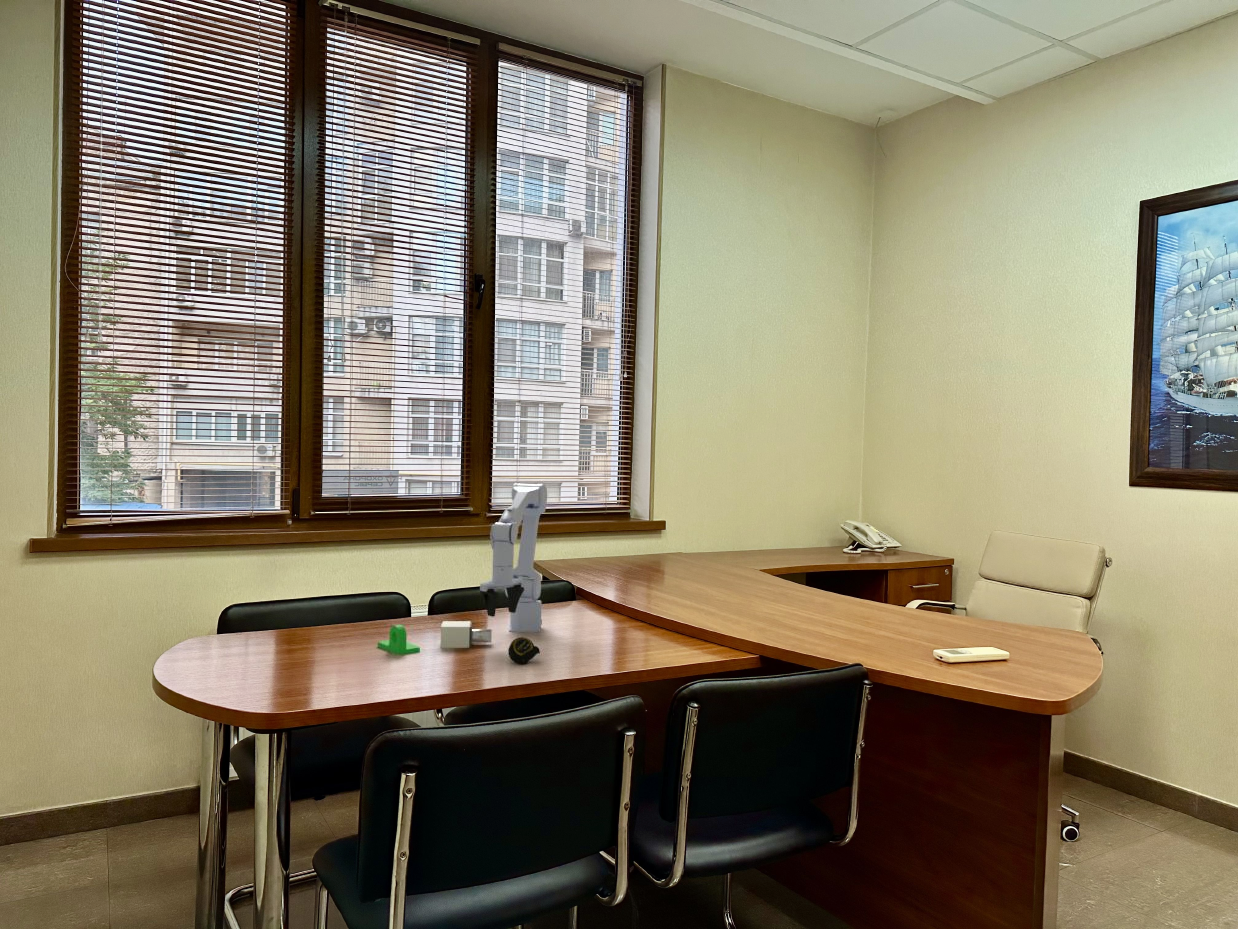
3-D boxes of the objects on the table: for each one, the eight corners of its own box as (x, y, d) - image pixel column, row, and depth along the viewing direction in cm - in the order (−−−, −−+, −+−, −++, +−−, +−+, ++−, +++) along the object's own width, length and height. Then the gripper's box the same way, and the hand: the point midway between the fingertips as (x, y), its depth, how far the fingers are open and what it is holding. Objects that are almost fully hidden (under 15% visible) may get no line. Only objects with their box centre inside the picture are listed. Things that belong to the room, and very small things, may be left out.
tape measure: (520, 671, 219) (523, 664, 217) (501, 653, 221) (504, 645, 218) (538, 656, 224) (542, 649, 221) (519, 638, 226) (523, 630, 223)
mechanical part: (419, 654, 230) (420, 624, 229) (399, 658, 226) (399, 627, 225) (397, 645, 238) (398, 617, 238) (377, 649, 234) (378, 619, 234)
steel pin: (491, 640, 241) (491, 628, 241) (491, 643, 238) (491, 630, 238) (458, 640, 240) (458, 628, 240) (457, 644, 237) (458, 630, 236)
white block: (471, 643, 242) (472, 621, 242) (470, 649, 235) (470, 626, 235) (442, 643, 241) (443, 621, 241) (440, 649, 234) (441, 626, 234)
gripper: (512, 561, 249) (511, 608, 250) (473, 566, 238) (472, 615, 239) (529, 564, 245) (528, 612, 245) (490, 569, 234) (488, 619, 234)
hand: (501, 614), depth 242 cm, fingers open, 7 cm apart
